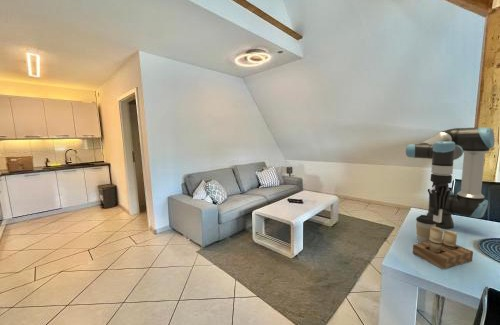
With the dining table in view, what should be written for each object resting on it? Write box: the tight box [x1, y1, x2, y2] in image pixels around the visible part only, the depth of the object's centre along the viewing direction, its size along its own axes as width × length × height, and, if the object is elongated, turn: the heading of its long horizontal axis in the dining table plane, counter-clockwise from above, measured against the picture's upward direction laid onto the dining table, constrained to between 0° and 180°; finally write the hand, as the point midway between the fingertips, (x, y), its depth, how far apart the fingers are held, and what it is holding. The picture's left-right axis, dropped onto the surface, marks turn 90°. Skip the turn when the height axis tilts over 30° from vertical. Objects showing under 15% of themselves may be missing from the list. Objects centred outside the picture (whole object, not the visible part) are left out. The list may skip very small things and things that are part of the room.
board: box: [412, 239, 474, 270], centre depth 107 cm, size 20×14×5 cm
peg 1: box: [429, 227, 444, 254], centre depth 105 cm, size 5×5×12 cm
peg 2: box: [443, 229, 458, 250], centre depth 108 cm, size 5×5×12 cm
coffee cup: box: [415, 214, 437, 243], centre depth 122 cm, size 9×9×15 cm
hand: (437, 221), depth 104 cm, fingers closed
